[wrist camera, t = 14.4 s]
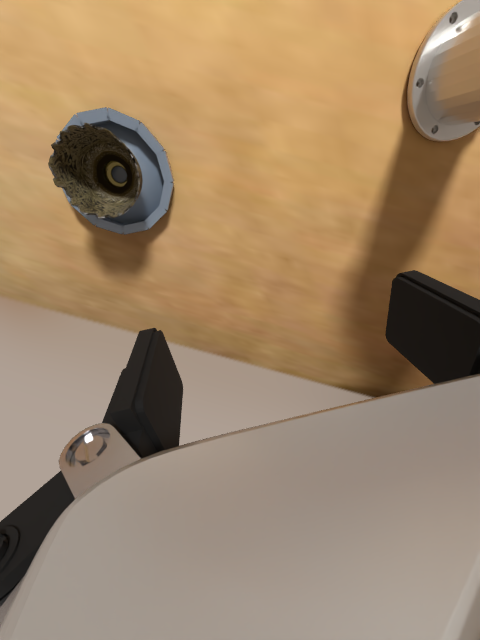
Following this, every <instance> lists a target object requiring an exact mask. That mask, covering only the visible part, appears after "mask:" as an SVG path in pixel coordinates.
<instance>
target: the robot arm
mask: <svg viewBox="0 0 480 640" xmlns="http://www.w3.org/2000/svg"><path fill="white" fill-rule="evenodd" d="M407 104H408V110H409V115H410V118H411V121H412V123H413V125H414V127H415V128H416V130H417V131H418V132H419V133H420V134H421V135H422V136H423V137H425V138H427V139H429V140H432V141H438V142H440V141H450V140H455V139H459V138H461V137H463V136H466V135H468V134H469V133H471V132H472V131H474V130H475V129H477V128H478V127H479V126H480V0H462V1H461V2H459V3H457V4H456V5H455V6H453V7H452V8H451V9H449V10H448V11H447V12H446V13H445V14H444V15H443V16H442V17H441V18H440V19H439V20H438V21H437V22H436V23H435V24H434V26H433V27H432V28H431V30H430V31H429V32H428V34H427V35H426V37H425V39H424V41H423V43H422V44H421V46H420V48H419V50H418V53H417V55H416V57H415V60H414V62H413V66H412V69H411V73H410V76H409V83H408V90H407ZM386 339H387V341H388V342H389V343H390V344H391V345H392V346H393V347H394V348H396V349H397V350H398V351H399V352H400V353H401V354H402V355H403V356H404V357H405V358H407V359H408V360H409V361H410V362H411V363H412V364H413V365H414V366H415V367H416V368H418V369H419V370H420V371H421V372H422V373H423V374H424V375H425V376H426V377H427V378H429V379H430V380H431V381H432V382H433V383H434V384H433V385H428V386H424V387H420V388H415V389H411V390H407V391H402V392H398V393H394V394H389V395H385V396H381V397H377V398H372V399H368V400H364V401H360V402H356V403H351V404H347V405H343V406H339V407H334V408H330V409H326V410H321V411H317V412H313V413H309V414H305V415H301V416H296V417H292V418H288V419H284V420H280V421H276V422H272V423H267V424H264V425H259V426H255V427H251V428H247V429H243V430H239V431H235V432H231V433H227V434H222V435H219V436H214V437H210V438H206V439H203V440H199V441H195V442H192V443H188V444H184V445H181V446H179V437H180V423H181V410H182V396H183V384H182V381H181V378H180V375H179V373H178V371H177V368H176V365H175V363H174V360H173V358H172V355H171V353H170V350H169V348H168V345H167V342H166V340H165V337H164V335H163V332H162V331H161V330H160V331H157V330H156V328H152V329H147V330H143V331H140V332H139V334H138V337H137V340H136V342H135V345H134V348H133V350H132V353H131V356H130V358H129V361H128V364H127V367H126V368H125V369H123V371H122V372H121V375H120V377H119V380H118V383H117V385H116V388H115V391H114V393H113V396H112V398H111V401H110V404H109V406H108V409H107V412H106V414H105V417H104V419H103V422H102V423H100V424H95V425H93V426H90V427H88V428H86V429H84V430H82V431H81V432H79V433H78V434H77V435H76V436H75V437H73V438H72V439H71V440H70V441H69V443H68V444H67V445H66V446H65V447H64V449H63V451H62V453H61V455H60V459H59V465H60V469H61V471H60V472H59V473H58V474H56V475H55V476H54V477H53V478H52V479H51V480H50V481H48V482H47V483H46V484H45V485H43V486H42V487H41V488H40V489H39V490H37V491H36V492H35V493H34V494H33V495H32V496H30V497H29V498H28V499H27V500H26V501H24V502H23V503H22V504H21V505H20V506H18V507H17V508H16V509H15V510H14V511H13V512H11V513H10V514H9V515H8V516H7V517H6V518H4V519H3V520H2V521H1V522H0V640H480V300H478V299H476V298H474V297H472V296H470V295H468V294H466V293H463V292H461V291H459V290H457V289H455V288H453V287H450V286H448V285H446V284H444V283H442V282H440V281H437V280H435V279H433V278H431V277H429V276H427V275H425V274H422V273H420V272H418V271H415V270H413V271H408V272H404V273H399V274H398V275H397V276H396V278H394V279H393V281H392V288H391V296H390V303H389V311H388V319H387V327H386Z"/></svg>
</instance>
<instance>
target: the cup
mask: <svg viewBox="0 0 480 640" xmlns="http://www.w3.org/2000/svg"><path fill="white" fill-rule="evenodd" d="M59 139H60V141H56V142H55V143H53V144H52V145H51V146H52V148H53V149H54V153H53V154H52V155H51V156H50V160H49V163H48V165H49V168H50V170H51V171H52V174H53V175H54V177H55V178H54V179H53V181H54V183H55V185H56V186H57V187H61V188H63V189H64V191H65V193H66V195H67V196H68V197H69V198H70V200H71V201H70V204H71V205H72V206H76V207H78V209H79V211H80V212H81V213H82V214H85V215H95V216H97V217H98V218H99V219H102V218H105V217H108V216H109V217H110V218H115V217H117V216H120V215H123V214H124V213H126V212H127V211H128V210H129V209H130V208H131V207H133V205H134V204H135V202H136V200H137V199H138V197H139V195H140V192H141V189H142V182H143V180H142V172H141V168H140V165H139V163H138V161H137V159H136V157H135V156H134V154H133V153H132V152H131V150H130V149H129V148H128V147H127V146H126V145H125V144H124V143H123V142H122V141H121V140H120V139H119V138H118V137H117V136H116V135H114V134H113V133H112V132H111V131H109V130H107V129H105V128H103V127H96V126H93V125H92V124H89V123H84V127H83V126H79V125H70V126H68V127H67V129H65V130H64V131H60V137H59ZM116 166H119V167H122V168H123V169H124V170H125V171H126V174H127V178H126V180H125V181H124V182H122V183H120V182H117V181H115V180H114V178H113V177H112V169H113V168H114V167H116Z"/></svg>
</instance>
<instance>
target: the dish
mask: <svg viewBox="0 0 480 640" xmlns="http://www.w3.org/2000/svg"><path fill="white" fill-rule="evenodd" d="M76 114H77V115H75V114H74V116H73V117H72V118H71V120H70V121H69V122H68V123H67V125H66V126H65V127H64V129H63V130H62V131H64V130H65V129H67V127H68V126H70V125H79V126H83V127H84V123H89V124H92V125H93V126H96V127H103V128H105V129H107V130H109V131H111V132H112V133H113V134H114V135H116V136H117V137H118V138H119V139H120V140H121V141H122V142H123V143H124V144H125V145H126V146H127V147H128V148H129V149H130V150H131V152H132V153H133V154H134V156H135V157H136V159H137V161H138V163H139V165H140V168H141V172H142V180H143V182H142V189H141V192H140V195H139V197H138V199H137V200H136V202H135V204H134V205H133V207H131V208H130V209H129V210H128V211H127V212H126V213H124V214H123V215H120V216H117V217H115V218H110V217H109V216H108V217H105V218H102V219H99V218H98V217H97V216H95V215H85V214H82V213H81V212H80V211H79V209H78V207H76V206H73V207H74V208H75V209H76V210H77V211H78V212H79V213H81V214H82V215H83V216H84V217H85V218H86V219H87V220H89V221H90V222H91V223H92V224H93V225H96V227H99V228H103V229H106V230H109V231H112V232H116V233H119V234H124V235H125V234H130V233H134V232H139V231H144V230H148V229H150V228H151V227H152V226H153V225H154V224H155V223H156V222H157V221H158V220H159V219H160V218H161V217H162V216H163V215H164V214H165V213H166V212H167V211H168V209H169V205H170V200H171V197H172V192H173V186H174V183H173V181H174V179H173V175H172V170H171V166H170V163H169V160H168V156H167V153H166V151H164V150H165V149H164V148H163V147H162V145H161V144H160V143H159V142H158V140H157V139H156V138H155V137H154V136H153V135H152V133H151V132H150V131H149V130H148V129H147V127H146V126H145V125H144V124H143V123H142V122H140V121H139V120H136V119H134V118H132V117H129V116H127V115H125V114H122V113H120V112H118V111H115V110H113V109H111V108H106V107H105V108H100V109H95V110H90V111H85V112H80V113H76ZM59 137H60V134H59V135H58V136H57V138H58V139H59ZM56 141H60V139H59V140H56ZM112 177H113V178H114V180H115V181H117V182H120V183H122V182H124V181H125V180H126V178H127V174H126V171H125V170H124V169H123V168H122V167H119V166H116V167H114V168H113V169H112ZM63 191H64V189H63ZM64 193H65V191H64ZM65 195H66V193H65ZM66 197H67V199H68V201H69V203H70V201H71V200H70V198H69V197H68V196H67V195H66Z"/></svg>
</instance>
